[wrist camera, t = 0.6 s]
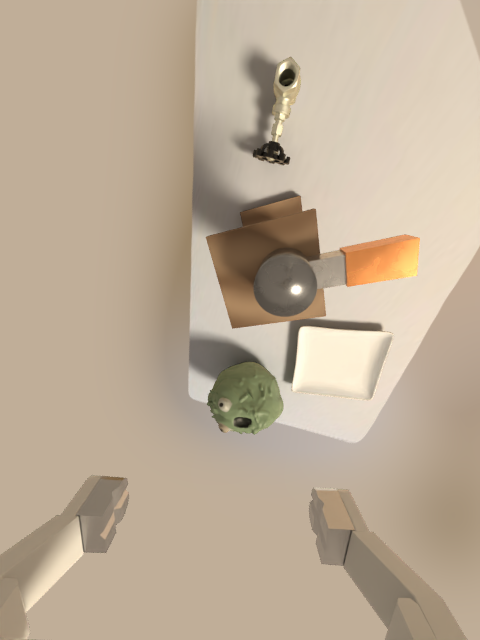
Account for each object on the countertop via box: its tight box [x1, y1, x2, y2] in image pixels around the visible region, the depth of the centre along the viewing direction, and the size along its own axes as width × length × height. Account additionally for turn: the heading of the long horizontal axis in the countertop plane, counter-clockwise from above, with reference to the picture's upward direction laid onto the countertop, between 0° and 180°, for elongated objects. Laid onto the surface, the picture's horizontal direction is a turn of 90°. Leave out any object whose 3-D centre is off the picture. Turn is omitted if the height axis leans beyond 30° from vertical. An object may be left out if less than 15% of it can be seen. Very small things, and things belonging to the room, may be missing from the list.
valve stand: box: [206, 196, 326, 329], centre depth 38 cm, size 16×12×26 cm
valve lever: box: [253, 234, 420, 317], centre depth 23 cm, size 6×15×5 cm, turn 104°
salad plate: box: [292, 326, 394, 401], centre depth 58 cm, size 21×21×3 cm
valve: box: [253, 57, 301, 165], centre depth 37 cm, size 7×7×12 cm
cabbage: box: [207, 362, 283, 434], centre depth 58 cm, size 16×19×20 cm
